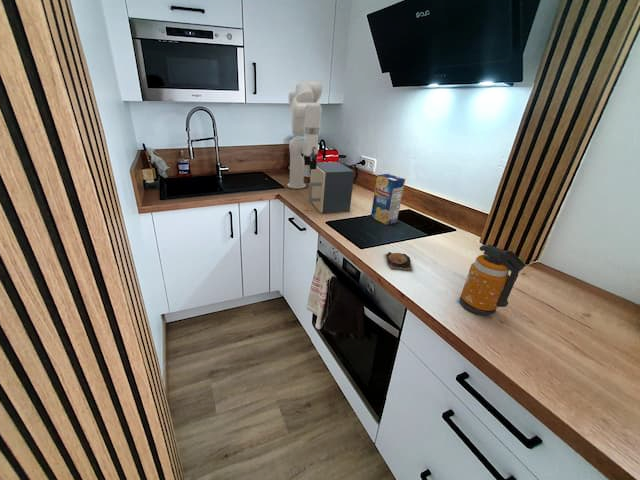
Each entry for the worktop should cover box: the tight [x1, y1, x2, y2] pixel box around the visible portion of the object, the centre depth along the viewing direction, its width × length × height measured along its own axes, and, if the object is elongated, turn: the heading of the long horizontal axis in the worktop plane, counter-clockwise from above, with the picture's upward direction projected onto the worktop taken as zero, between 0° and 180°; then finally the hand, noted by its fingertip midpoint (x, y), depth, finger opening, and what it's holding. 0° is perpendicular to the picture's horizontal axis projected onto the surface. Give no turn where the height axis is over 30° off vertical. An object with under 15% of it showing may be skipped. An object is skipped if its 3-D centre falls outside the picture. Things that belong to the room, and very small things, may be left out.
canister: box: [459, 243, 527, 316], centre depth 80 cm, size 9×11×20 cm
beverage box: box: [370, 173, 406, 226], centre depth 138 cm, size 7×11×22 cm, turn 26°
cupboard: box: [316, 161, 355, 214], centre depth 157 cm, size 15×22×22 cm
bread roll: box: [385, 251, 413, 272], centre depth 106 cm, size 11×8×4 cm
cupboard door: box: [307, 166, 326, 214], centre depth 155 cm, size 7×22×22 cm, turn 11°
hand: (310, 167), depth 142 cm, fingers open, 9 cm apart
